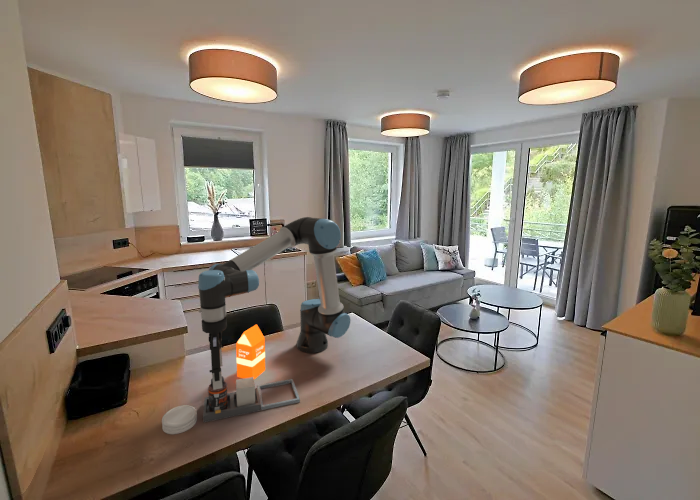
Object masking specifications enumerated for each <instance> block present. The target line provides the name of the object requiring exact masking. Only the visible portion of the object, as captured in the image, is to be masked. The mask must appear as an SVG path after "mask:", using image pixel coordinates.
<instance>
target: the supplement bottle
mask: <svg viewBox="0 0 700 500" xmlns="http://www.w3.org/2000/svg"><path fill="white" fill-rule="evenodd" d="M224 379H225V378H224V376H223V375H222V388H220V389H215V390H213V379H212V378H211V379H210V383H209V385H208V389H207V390H208V392H207V393H208V397H209V411H210V412H214V411H215V410H220V409H221V410H224V409H227V406H228V402H227V400H228V399H227V393H228V383H226V381H225V380H224Z"/></svg>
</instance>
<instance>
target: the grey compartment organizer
mask: <svg viewBox="0 0 700 500" xmlns="http://www.w3.org/2000/svg"><path fill="white" fill-rule="evenodd" d="M255 384H256V383H255V379H254V377H250V378H240V379H236V380H235V391H234V392H227V399H228V400H227V402H228V406H227V409H224V410H221V409H220V410H215V411H214V412H210V411H209V396H206V397H204V401H203V413H202V414H203V415H202V420H203V424H204V423H207V422H214V421H218V420H222V419H226V418H232V417H237V416H242V415H247V414H251V413H256V412H260V411H261V407H260V400H259V394H258V388H257V387H256V385H255Z"/></svg>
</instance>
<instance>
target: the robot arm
mask: <svg viewBox="0 0 700 500" xmlns="http://www.w3.org/2000/svg"><path fill="white" fill-rule="evenodd" d="M341 239H342V233H341V229H340V227H339V225H338V224H337V223H336V222H335V221H334V220H331V219H327V218H320V217H319V218H318V217H310V216H306V217H301V218H298V219H295V220H293V221H291V222H289V223H288V224H285V225H284V226H282V227H281V228H280V229H279V231H278V232H276V233H275V234H273V235H271V236H270V237H268V238H266V239H264V240H263V241H261V242H259V243H257V244H255V245H254V246H252V247H251V248H249V249H247V250H245V251H243V252H242V253H240V254H238V255H236V256H235V257H233V258H231V259H230V260H227V261H225V262H224V263H215V264H213V265H211V266H210V268H209V269H208V270H205V271H202V272H200V274H199V275H198V281H197V282H198V284H197V285H198V286H197V288H198V294H199V302H200V304H199V307H200V309H199V310H198V313H200V317H201V329H202V332H204V333H206V334H208V343H209V350H210V360H211V369H210V370H209V373H211V375H212V376H211V377H212V378H211V379H213V390H215V389H220V388H222V376H223V375H222V367H223V366H224V365H223V353H222V352H223V351H222V348H224V344H222V340H223V339H222V338H223V337H222V336H223V331H225V330H226V329H227V327H228V323H227V322H228V321H227V320H228V319H227V304H226V299H227V298H231V297H235V296H239V295H243V294H247V293H248V294H249V293H252V292H254V291H257V290H258V288H259V286H260V278H259V275H258V273H257V271H255V270H254V269H256V268H257V267H259V266H260V265H262V264H263V263H265V262H267V261H269V260H270V259H272V258H273V257H275V256H277V255H278V254H280V253H281V252H283V251H285V250H287V249H288V248H294V247H295V246H298V245H304V244H305V245H308V251H309V254H311V255H312V256H313V261H314V267H315V273H316V274H315V275H316V276H315V277H316V281H317V282H316V283H317V288H318V294H319V295H318V296H319V298H313V299H307V300H304V301H302V302H301V304H300V310H299V311H300V332H299V334H298V337H297V341H296V348H297V349H298V350H299V351H300V352H303V353H307V354H314V353H316V354H317V353H321V352H324V351H325V350H326V349H328V345H329V340H328V337H327V336H329V337H333V338H336V339H339V338H341V337H343V336H344V335H345V334H346V333H347V332H348V330H349V328H350V325H351V316H350V315H349V314H348V313H345V308H344V304H343V303H342V302H341V301H340V294H339V293H340V292H339V284H338V276H337V270H336V262H335V260H336V259H335V252H336V251H337V248H338V246H339V244H340V241H341Z"/></svg>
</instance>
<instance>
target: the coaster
mask: <svg viewBox="0 0 700 500" xmlns="http://www.w3.org/2000/svg"><path fill="white" fill-rule="evenodd" d="M197 411H198V410H197V409H196V407H194V406H193V405H188V404H187V405H186V404H185V405H178V406H175V407H173V408H171V409H168V410H167V412H165V413H164V415H163V416H162V417H161V418H162V419H161V426H162V427H161V428H162V431H163V432H164V433H165V434H167V435H178V434H182V433H185V432H187V431H189V430H190V429H192V428H193V427H194V426H195V425H196V423H197V421H198V413H197Z"/></svg>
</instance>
